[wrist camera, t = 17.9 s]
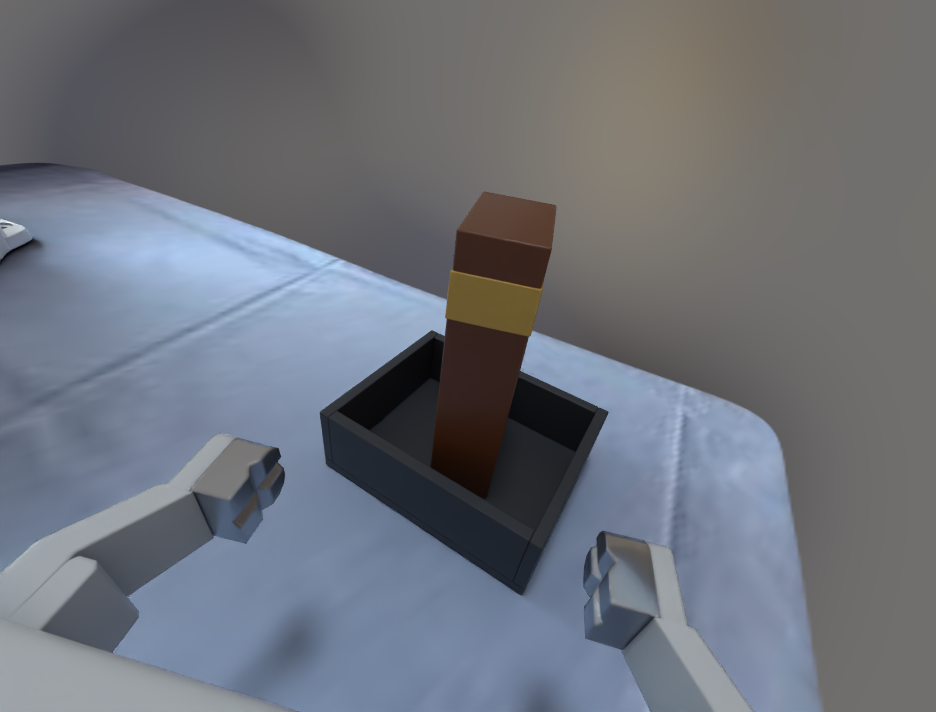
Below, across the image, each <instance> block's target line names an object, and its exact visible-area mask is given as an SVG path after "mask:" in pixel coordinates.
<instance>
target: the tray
mask: <svg viewBox="0 0 936 712" xmlns="http://www.w3.org/2000/svg"><path fill="white" fill-rule="evenodd" d="M444 340H445V336H443V335H441V334H438V333H437V332H435V331H430V332H429V333H427V334H426V335H425V336H423V337H422V338H421V339H419V340H418V341H416V342H415V343H414V344H412V345H411V346H410V347H408V348H407V349H405V350H404V351H403V352H401V353H400V354H399V355H397V356H396V357H394V358H393V359H392V360H390V361H389V362H388V363H386V364H385V365H383V366H382V367H381V368H379V369H378V370H377V371H375V372H374V373H373V374H371V375H370V376H368V377H367V378H366V379H364V380H363V381H362V382H360V383H359V384H357V385H356V386H355V387H353V388H352V389H351V390H349V391H348V392H346V393H345V394H344V395H342V396H341V397H340V398H338V399H337V400H335V401H334V402H333V403H331V404H330V405H329V406H327V407H326V408H325V409H323V410H322V411H320V419H321V427H322V434H323V442H324V450H325V459H326V464H327V465H329V466H330V467H332V468H333V469H335V470H336V471H338V472H339V473H341V474H342V475H343V476H345V477H346V478H348V479H349V480H351V481H352V482H354V483H355V484H357V485H358V486H360V487H361V488H363V489H364V490H366V491H367V492H369V493H370V494H372V495H373V496H375V497H376V498H378V499H379V500H381V501H382V502H384V503H385V504H387V505H388V506H390V507H391V508H393V509H394V510H396V511H397V512H399V513H400V514H402V515H403V516H405V517H406V518H408V519H409V520H410V521H412V522H413V523H415V524H416V525H418V526H419V527H421V528H422V529H424V530H425V531H427V532H428V533H430V534H431V535H433V536H434V537H436V538H437V539H439V540H440V541H442V542H443V543H445V544H446V545H448V546H449V547H451V548H452V549H454V550H455V551H457V552H458V553H460V554H461V555H463V556H464V557H466V558H467V559H469V560H470V561H472V562H473V563H475V564H476V565H478V566H479V567H480V568H482V569H483V570H485V571H486V572H488V573H489V574H491V575H492V576H494V577H495V578H497V579H498V580H500V581H501V582H503V583H504V584H506V585H507V586H509V587H510V588H512V589H513V590H515V591H516V592H518V593H519V594H521V595H522V594H523V592H524V590H525V588H526V586H527V584H528V582H529V580H530V578H531V575H532V573H533V571H534V569H535V567H536V565H537V563H538V561H539V559H540V557H541V554H542V552H543V550H544V548H545V546H546V544H547V542H548V540H549V538H550V536H551V534H552V531H553V529H554V527H555V525H556V523H557V521H558V519H559V517H560V515H561V513H562V510H563V508H564V506H565V504H566V502H567V500H568V498H569V496H570V494H571V492H572V489H573V487H574V485H575V483H576V481H577V479H578V477H579V475H580V473H581V471H582V468H583V466H584V464H585V462H586V460H587V458H588V456H589V454H590V452H591V449H592V447H593V445H594V443H595V441H596V439H597V436H598V434H599V432H600V430H601V428H602V426H603V424H604V421H605V419H606V417H607V415H608V411H606V410H604V409H601V408H598V407H597V406H595V405H593V404H591V403H588V402H586V401H584V400H582V399H580V398H578V397H575V396H573V395H571V394H569V393H567V392H565V391H562V390H560V389H558V388H556V387H554V386H552V385H549V384H547V383H545V382H543V381H541V380H539V379H536V378H534V377H532V376H530V375H528V374H526V373H523V372H521V371H520V373H519V376H518V380H517V384H516V388H515V392H514V396H513V399H512V403H511V407H510V411H509V415H508V419H507V422H506V426H505V430H504V434H503V438H502V441H501V445H500V449H499V453H498V457H497V461H496V464H495V468H494V472H493V476H492V480H491V484H490V487H489V491H488V495H487V498H481V497H479V496H477V495H475V494H474V493H472V492H470V491H469V490H467V489H465V488H464V487H462V486H460V485H459V484H457V483H456V482H454V481H452V480H451V479H449V478H447V477H446V476H444V475H442V474H441V473H439V472H437V471H436V470H434V469H432V468H431V467H430V465H431V456H432V447H433V438H434V429H435V420H436V411H437V402H438V393H439V384H440V375H441V367H442V358H443V349H444Z"/></svg>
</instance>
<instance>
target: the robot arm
mask: <svg viewBox="0 0 936 712" xmlns="http://www.w3.org/2000/svg"><path fill="white" fill-rule="evenodd" d="M32 238H33V237H32V236H31V234H30V233H29V231H28V230H27V228H26V227H24V226H22V225H19V224H15V223H12V222H9V221H6V220H3V219H0V260H1V259H2V258H3V257H4V256H5V254H6V253H8V252H9V251H10V250H12V249H14V248H17V247H19V246H21V245H23V244H25V243H27V242H28V241H30V240H31V239H32ZM280 458H281V455H280V452H279V448H276V447H272V446H268V445H264V444H260V443H257V442H253V441H249V440H245V439H242V438H239V437H235V436H231V435H227V434H223V433H219V434H217V435H215V436H213V437H212V438H211V439H210V440H209V441H208V442H207V443H206V444H205V445H204V446H203V447H202V448H201V449H200V450H199V451H198V452H197V454H196V455H195V456H194V457H193V458H192V459H191V460H190V461H189V462H188V463H187V464H186V465H185V466H184V467H183V468H182V469H181V470H180V471H179V472H178V473H177V474H176V475H175V476H174V478H173V479H172V480H171V481H170V482H169V483H168V484H167V485H166V484H159V485H156V486H154V487H152V488H150V489H148V490H146V491H143V492H141V493H139V494H137V495H135V496H133V497H130V498H128V499H126V500H124V501H122V502H120V503H117V504H115V505H113V506H111V507H109V508H107V509H104V510H102V511H100V512H98V513H96V514H94V515H91V516H89V517H87V518H85V519H83V520H81V521H78V522H76V523H74V524H72V525H70V526H68V527H65V528H63V529H61V530H59V531H57V532H55V533H53V534H50V535H48V536H46V537H44V538H42V539H40V540H37V541H36V542H35V543H34V544H33V545H31V546H30V547H29V548H28V549H27V550H26V551H25V552H24V553H23V554H21V555H20V556H19V557H18V558H17V559H16V560H15V561H14V562H12V563H11V564H10V565H9V566H8V567H7V568H6V569H5V570H4V571H2V572H1V573H0V712H299V711H296V710H292V709H289V708H286V707H283V706H280V705H277V704H273V703H270V702H267V701H264V700H261V699H257V698H254V697H251V696H248V695H245V694H241V693H238V692H235V691H232V690H229V689H226V688H222V687H219V686H216V685H213V684H210V683H206V682H203V681H200V680H197V679H194V678H191V677H187V676H184V675H181V674H178V673H175V672H171V671H168V670H165V669H162V668H159V667H155V666H152V665H149V664H146V663H143V662H140V661H136V660H133V659H130V658H127V657H124V656H120V655H117V654H114V653H112V652H113V651H114V650H115V648H116V647H117V646H118V644H119V643H120V642H121V640H122V639H123V638H124V636H125V635H126V634H127V632H128V631H129V630H130V628H131V627H132V626H133V625H134V623H135V622H136V621H137V619H138V618H139V611H138V609H137V608H136V607H135V606H134V605H133V603H132V602H131V601H130V600H129V599H128V598H127V596H129V595H130V594H132V593H133V592H135V591H136V590H138V589H139V588H141V587H142V586H143V585H145V584H146V583H148V582H149V581H151V580H152V579H154V578H155V577H157V576H158V575H160V574H161V573H163V572H164V571H166V570H167V569H169V568H170V567H171V566H173V565H174V564H176V563H177V562H179V561H180V560H182V559H183V558H185V557H186V556H188V555H189V554H191V553H192V552H194V551H195V550H197V549H198V548H199V547H201V546H202V545H204V544H205V543H207V542H208V541H210V540H211V539H213V536H217V537H221V538H225V539H229V540H233V541H237V542H241V543H245V544H246V543H247V542H248V540H249V539H250V537H251V536H252V535H253V533H254V532H255V530H256V529H257V527H258V526H259V524H260V523H261V521H262V520H263V515H262V510H263V509H265V508H267V507H269V506H270V505H272V504H273V503H274V502H275V500H276V499H277V497H278V496H279V494H280V492H281V489H282V487H283V484H284V479H285V472H284V468H283V467H282V466H281V465H280V464H279V463H278V460H279V459H280ZM584 589H585V590H586V592H587V594H588V595H589V597H590V599H589V600H588V602H587V603H586V605H585V606H584V624H585V639H589V640H592V641H595V642H598V643H602V644H605V645H608V646H611V647H615V648H618V649H621V650H623V651H622V654H623V656H624V658H625V660H626V662H627V664H628V666H629V668H630V670H631V672H632V674H633V676H634V678H635V681H636V683H637V685H638V687H639V689H640V691H641V693H642V695H643V697H644V699H645V701H646V703H647V705H648V707H649V710H650V712H754V711H753V710H752V708H751V707H750V706H749V704H748V703H747V701H746V700H745V699H744V697H743V696H742V694H741V693H740V691H739V690H738V689H737V687H736V686H735V684H734V683H733V682H732V680H731V679H730V677H729V676H728V674H727V673H726V672H725V670H724V669H723V667H722V666H721V665H720V663H719V662H718V660H717V659H716V657H715V656H714V655H713V653H712V652H711V650H710V649H709V648H708V646H707V645H706V643H705V642H704V640H703V639H702V638H701V636H700V635H699V633H698V632H697V631H696V629H695V628H693V627H690V626H688V625H687V620H686V616H685V611H684V606H683V601H682V597H681V592H680V587H679V582H678V578H677V573H676V568H675V563H674V559H673V554H672V552H671V550H670V549H669V548H668V547H666V546H663V545H658V544H654V543H650V542H646V541H644V540H640V539H636V538H632V537H628V536H623V535H619V534H615V533H611V532H607V531H602V532H600V533H599V535H598V536H597V546H594V547H592V548H590V550H589V552H588V554H587V557H586V561H585V565H584Z"/></svg>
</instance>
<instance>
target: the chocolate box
mask: <svg viewBox="0 0 936 712" xmlns="http://www.w3.org/2000/svg"><path fill="white" fill-rule="evenodd" d="M555 215H556V206H555V205H552V204H547V203H541V202H536V201H531V200H525V199H521V198H515V197H510V196H505V195H499V194H494V193H489V192H483V193H482V194H481V196H480V197H479V199H478V200H477V202H476V203H475V205H474V206H473V207H472V209H471V211H470V212H469V213H468V215H467V216H466V218H465V219H464V221H463V222H462V224H461V225H460V227H459V228H458V230H457V233H456V242H455V251H454V260H453V268H452V270H451V272H450V279H449V288H448V297H447V306H446V315H445V318H446V319H447V322H446V331H445V340H444V349H443V358H442V367H441V375H440V384H439V393H438V402H437V411H436V420H435V429H434V438H433V447H432V456H431V465H430V467H431V468H432V469H434V470H436V471H437V472H439V473H441V474H442V475H444V476H446V477H447V478H449V479H451V480H452V481H454V482H456V483H457V484H459V485H460V486H462V487H464V488H465V489H467V490H469V491H470V492H472V493H474V494H475V495H477V496H479V497H481V498H487V495H488V491H489V487H490V484H491V480H492V476H493V472H494V468H495V464H496V461H497V457H498V453H499V449H500V445H501V441H502V438H503V434H504V430H505V426H506V422H507V419H508V415H509V411H510V407H511V403H512V399H513V396H514V392H515V388H516V384H517V380H518V376H519V373H520V369H521V365H522V361H523V357H524V353H525V350H526V346H527V342H528V338H529V337H530V336H531V332H532V328H533V324H534V321H535V317H536V313H537V310H538V306H539V302H540V298H541V294H542V290H543V282H544V277H545V273H546V269H547V265H548V261H549V257H550V254H551V250H552V241H553V233H554V224H555Z"/></svg>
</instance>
